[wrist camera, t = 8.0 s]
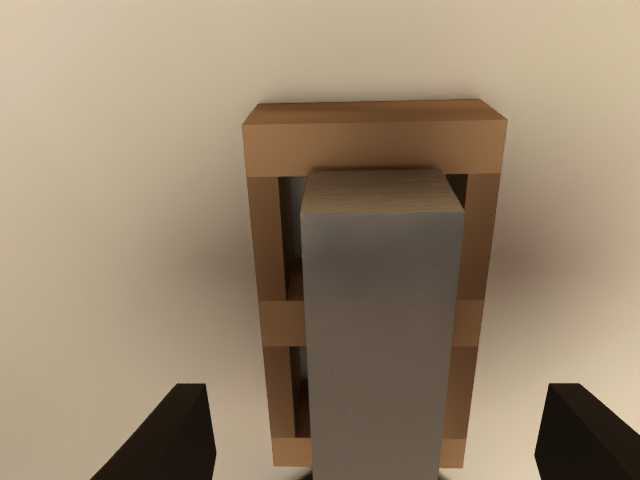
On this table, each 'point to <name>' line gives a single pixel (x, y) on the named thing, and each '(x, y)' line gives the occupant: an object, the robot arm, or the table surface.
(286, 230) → the rectangular frame with crossbar
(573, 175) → the table surface
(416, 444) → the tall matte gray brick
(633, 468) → the robot arm
